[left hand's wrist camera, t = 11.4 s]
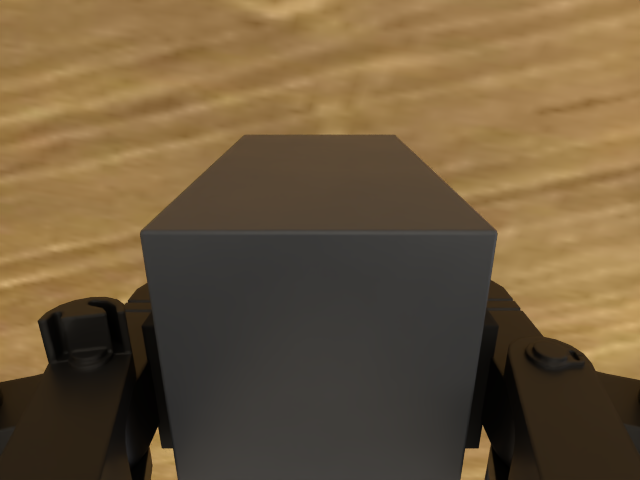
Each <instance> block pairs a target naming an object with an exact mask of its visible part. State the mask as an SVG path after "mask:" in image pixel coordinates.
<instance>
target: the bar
mask: <svg viewBox="0 0 640 480" xmlns="http://www.w3.org/2000/svg"><path fill="white" fill-rule="evenodd" d="M140 237H141V244H142V250H143V257H144V263H145V270H146V276H147V282H148V289H149V295H150V302H151V308H152V315H153V321H154V328H155V334H156V341H157V347H158V354H159V360H160V367H161V373H162V380H163V386H164V393H165V399H166V406H167V412H168V419H169V425H170V432H171V438H172V445H173V451H174V458H175V464H176V471H177V477H178V480H460V479H461V472H462V465H463V459H464V452H465V445H466V439H467V432H468V426H469V419H470V412H471V406H472V399H473V393H474V386H475V379H476V373H477V366H478V359H479V353H480V346H481V340H482V333H483V326H484V320H485V313H486V306H487V300H488V293H489V287H490V280H491V273H492V267H493V260H494V253H495V247H496V240H497V231H496V230H495V229H494V228H493V227H492V226H491V225H490V224H489V223H488V222H487V221H486V220H485V219H484V218H483V217H482V216H480V215H479V214H478V213H477V212H476V211H475V210H474V209H473V208H472V207H471V206H470V205H469V204H468V203H467V202H466V201H465V200H463V199H462V198H461V197H460V196H459V195H458V194H457V193H456V192H455V191H454V190H453V189H452V188H451V187H450V186H449V185H448V184H446V183H445V182H444V181H443V180H442V179H441V178H440V177H439V176H438V175H437V174H436V173H435V172H434V171H433V170H432V169H430V168H429V167H428V166H427V165H426V164H425V163H424V162H423V161H422V160H421V159H420V158H419V157H418V156H417V155H416V154H415V153H413V152H412V151H411V150H410V149H409V148H408V147H407V146H406V145H405V144H404V143H403V142H402V141H401V140H400V139H399V138H398V137H396V136H395V135H244V136H243V137H242V138H241V139H239V140H238V141H237V142H236V143H235V144H234V145H233V146H232V147H231V148H230V149H229V150H228V151H226V152H225V153H224V154H223V155H222V156H221V157H220V158H219V159H218V160H217V161H216V162H215V163H214V164H212V165H211V166H210V167H209V168H208V169H207V170H206V171H205V172H204V173H203V174H202V175H201V176H199V177H198V178H197V179H196V180H195V181H194V182H193V183H192V184H191V185H190V186H189V187H188V188H187V189H185V190H184V191H183V192H182V193H181V194H180V195H179V196H178V197H177V198H176V199H175V200H174V201H173V202H171V203H170V204H169V205H168V206H167V207H166V208H165V209H164V210H163V211H162V212H161V213H160V214H158V215H157V216H156V217H155V218H154V219H153V220H152V221H151V222H150V223H149V224H148V225H147V226H146V227H144V228H143V229H142V230H141V232H140Z"/></svg>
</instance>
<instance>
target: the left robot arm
mask: <svg viewBox="0 0 640 480" xmlns="http://www.w3.org/2000/svg"><path fill="white" fill-rule="evenodd" d="M38 324H39V328H40V332H41V335H42V339H43V343H44V347H45V351H46V355H47V358H48V362H49V364H48V366H47V368H46V370H45V372H44V374H40V375H36V376H31V377H26V378H20V379H15V380H10V381H5V382H0V480H151V473H152V459H151V452H150V447H149V445H150V443H151V441H152V439H153V436H154V434H155V432H156V430H157V428H159V434H160V440H161V446H162V448H173V445H172V438H171V432H170V425H169V419H168V412H167V406H166V399H165V393H164V386H163V380H162V373H161V367H160V360H159V354H158V347H157V341H156V334H155V328H154V321H153V315H152V308H151V302H150V295H149V289H148V283H146V284H145V285H143V286H141V287H140V288H138V289H137V290H136V291H135V292H134V294H133V295H132V296H131V297H130V299H129V300H128V303H126V304H125V305H124V304H123V303H121V302H120V301H119V300H117V299H113V298H108V297H90V298H84V299H79V300H74V301H71V302H68V303H65V304H62V305H59V306H58V307H56V308H54V309H52V310H50V311H48V312H47V313H45V314H44V315H43V316H42V317H41V318H40V319H39V320H38ZM482 424H483V427H484V429H485V431H486V433H487V436H488V438H489V440H490V442H491V447H490V452H489V458H488V464H487V469H486V475H485V480H640V380H636V379H631V378H626V377H620V376H615V375H610V374H605V373H601V372H597V371H595V369H594V367H593V365H592V363H591V362H590V361H589V360H588V358H587V357H586V356H585V355H584V354H583V353H582V352H580V351H579V350H577V349H576V348H574V347H573V346H571V345H568V344H566V343H563V342H561V341H558V340H556V339H551V338H546V337H543V335H542V334H541V333H540V332H539V330H538V329H537V328H536V327H535V326H534V324H533V323H532V322H531V321H530V319H529V318H528V317H527V316H526V315H525V313H524V312H523V311H520V307H519V306H518V305H517V304H516V302H515V301H513V299H512V297H511V296H510V295H509V294H508V293H507V291H506V290H505V289H504V288H503V287H502V286H500V285H498V284H497V283H495V282H493V281H492V280H490V287H489V293H488V300H487V306H486V313H485V320H484V326H483V333H482V340H481V346H480V353H479V359H478V366H477V373H476V379H475V386H474V393H473V399H472V406H471V412H470V419H469V426H468V432H467V439H466V445H465V448H479V442H480V436H481V430H482Z"/></svg>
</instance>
